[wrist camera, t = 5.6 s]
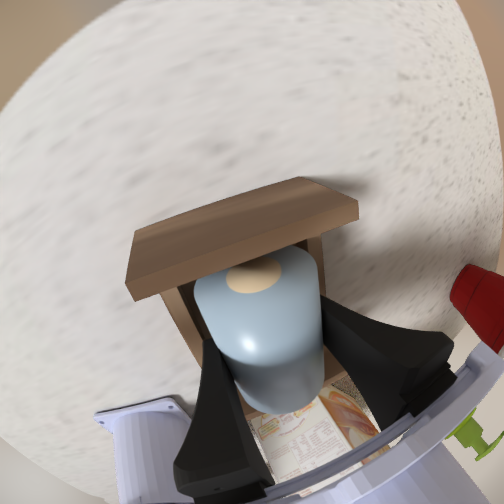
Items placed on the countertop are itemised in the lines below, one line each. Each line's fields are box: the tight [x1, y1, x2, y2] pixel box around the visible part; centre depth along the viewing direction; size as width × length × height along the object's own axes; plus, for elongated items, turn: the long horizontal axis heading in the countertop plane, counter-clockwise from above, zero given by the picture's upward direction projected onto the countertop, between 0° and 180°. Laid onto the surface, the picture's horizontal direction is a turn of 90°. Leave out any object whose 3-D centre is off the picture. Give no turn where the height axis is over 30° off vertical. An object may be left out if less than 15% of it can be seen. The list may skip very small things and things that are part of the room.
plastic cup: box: [450, 264, 504, 359], centre depth 22 cm, size 11×11×12 cm
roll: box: [194, 245, 324, 415], centre depth 13 cm, size 8×5×5 cm, turn 13°
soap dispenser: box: [445, 407, 504, 461], centre depth 23 cm, size 6×7×20 cm
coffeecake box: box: [250, 385, 390, 497], centre depth 17 cm, size 15×7×20 cm, turn 39°
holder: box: [125, 177, 359, 421], centre depth 14 cm, size 12×9×5 cm
